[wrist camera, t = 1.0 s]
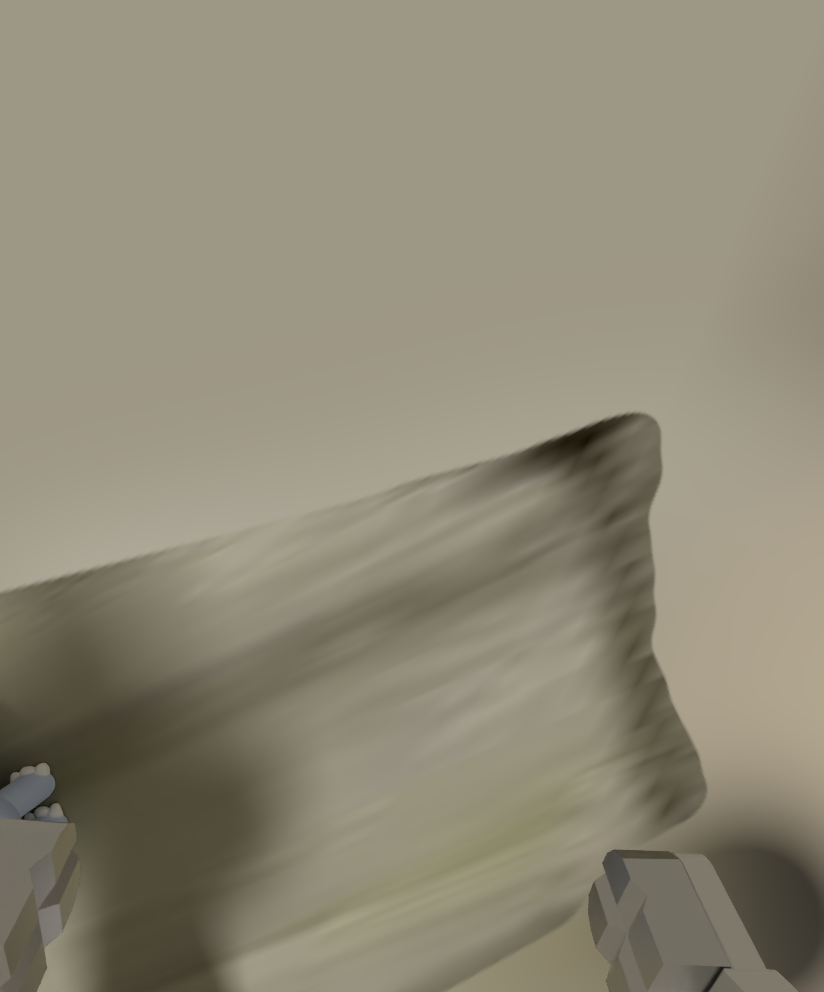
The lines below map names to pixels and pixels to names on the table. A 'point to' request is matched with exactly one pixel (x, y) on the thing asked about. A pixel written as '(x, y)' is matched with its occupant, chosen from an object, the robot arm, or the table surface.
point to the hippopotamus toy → (30, 795)
